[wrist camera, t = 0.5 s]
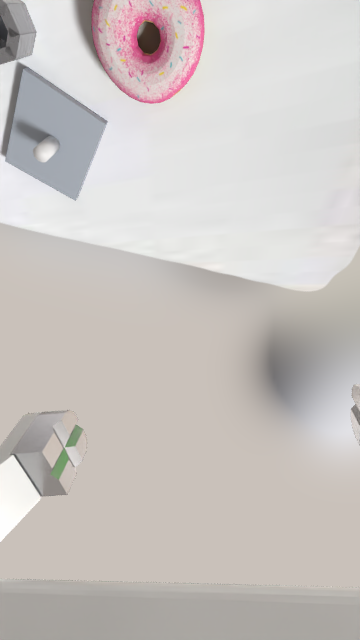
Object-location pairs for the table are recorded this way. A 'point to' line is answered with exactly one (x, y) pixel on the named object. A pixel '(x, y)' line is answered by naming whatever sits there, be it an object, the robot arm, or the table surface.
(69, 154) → the shaft block
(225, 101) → the table surface
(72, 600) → the robot arm
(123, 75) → the donut
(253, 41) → the table surface
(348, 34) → the table surface
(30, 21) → the ring
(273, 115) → the table surface
